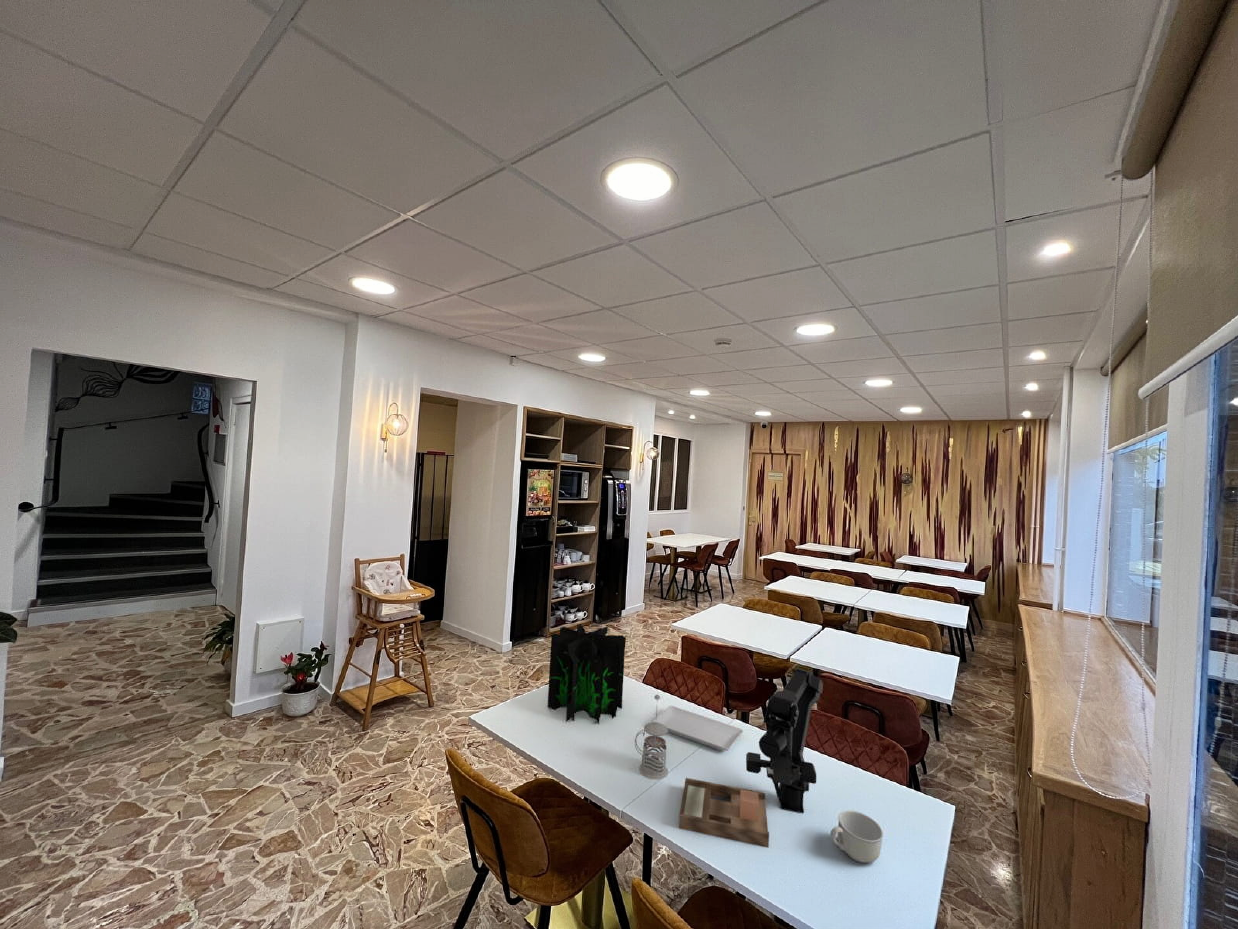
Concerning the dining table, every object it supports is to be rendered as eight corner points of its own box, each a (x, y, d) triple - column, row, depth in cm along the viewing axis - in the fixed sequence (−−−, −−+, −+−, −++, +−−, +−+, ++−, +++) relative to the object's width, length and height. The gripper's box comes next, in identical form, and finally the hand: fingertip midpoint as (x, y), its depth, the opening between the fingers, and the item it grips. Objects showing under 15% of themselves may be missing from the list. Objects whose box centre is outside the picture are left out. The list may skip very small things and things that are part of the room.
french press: (666, 782, 159) (670, 703, 159) (631, 775, 161) (635, 698, 161) (669, 764, 168) (673, 690, 169) (636, 759, 171) (639, 686, 171)
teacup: (868, 839, 138) (869, 810, 138) (890, 871, 127) (892, 839, 127) (818, 838, 137) (819, 809, 137) (837, 869, 126) (838, 838, 126)
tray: (728, 759, 174) (728, 749, 174) (650, 729, 191) (650, 720, 191) (743, 738, 188) (744, 729, 188) (670, 713, 205) (670, 704, 206)
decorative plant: (579, 732, 186) (583, 652, 186) (535, 702, 208) (539, 631, 208) (633, 710, 205) (637, 638, 206) (588, 685, 227) (592, 620, 228)
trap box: (764, 804, 150) (765, 793, 150) (768, 847, 133) (769, 834, 133) (685, 789, 156) (685, 777, 156) (678, 828, 138) (679, 815, 138)
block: (757, 810, 144) (758, 793, 144) (758, 821, 140) (758, 803, 140) (739, 806, 146) (740, 789, 146) (739, 818, 141) (740, 800, 141)
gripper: (748, 751, 135) (745, 809, 135) (820, 764, 131) (818, 823, 131) (747, 731, 146) (744, 784, 146) (814, 742, 142) (812, 797, 142)
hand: (778, 797), depth 141 cm, fingers closed
